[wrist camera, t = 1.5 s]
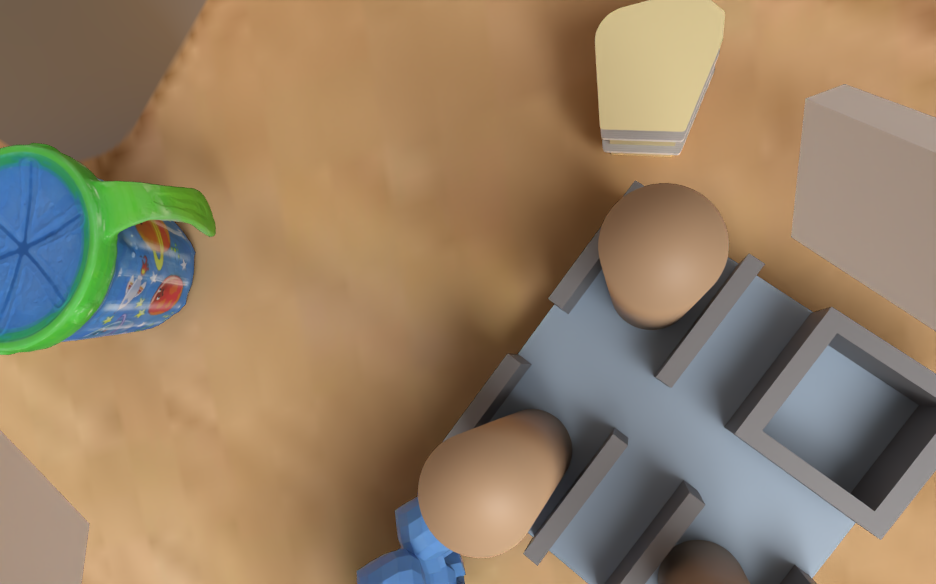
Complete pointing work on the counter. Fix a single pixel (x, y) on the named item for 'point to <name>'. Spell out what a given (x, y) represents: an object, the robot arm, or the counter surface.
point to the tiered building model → (655, 73)
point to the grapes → (414, 555)
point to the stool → (682, 419)
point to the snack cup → (88, 250)
